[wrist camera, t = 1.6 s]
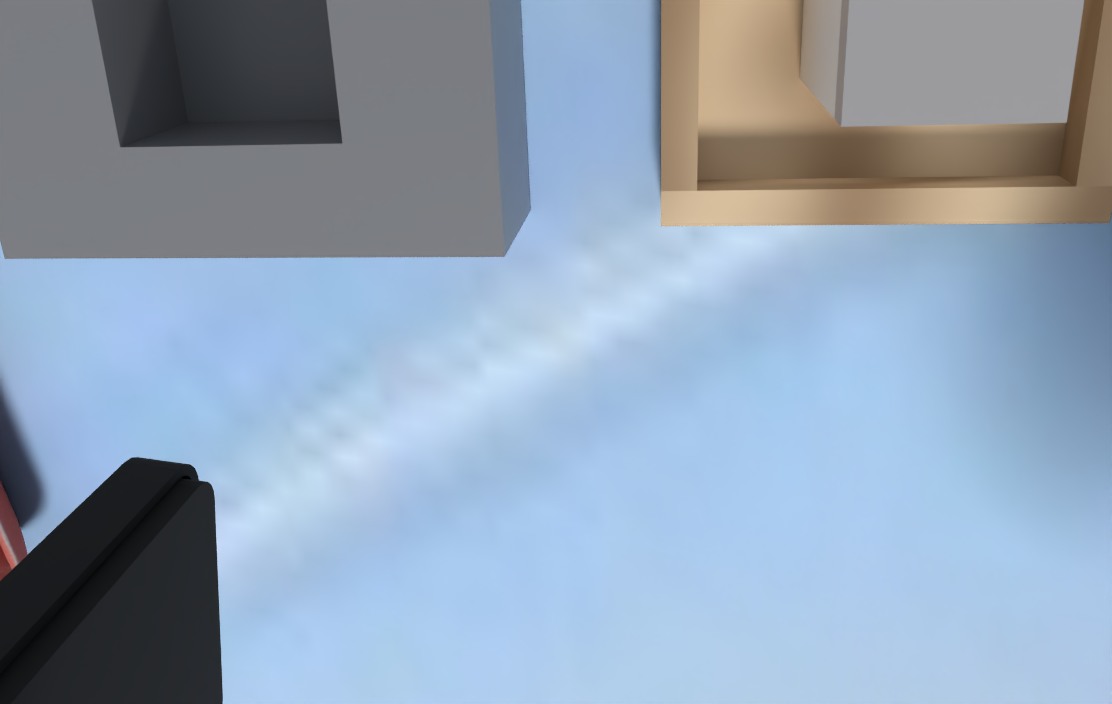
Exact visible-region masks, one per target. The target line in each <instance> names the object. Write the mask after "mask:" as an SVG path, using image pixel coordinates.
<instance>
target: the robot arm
mask: <svg viewBox="0 0 1112 704" xmlns="http://www.w3.org/2000/svg"><path fill="white" fill-rule="evenodd" d="M222 701H223V693H222V669H221V644H220V620H219V596H218V571H217V547H216V523H215V498H214V490H213V488H212V485H211V484H210V483H208V482H204V481H199V479H198V475H197V472H196V470H195V468H194V467H193V466H191V465H189V464H182V463H175V462H168V461H160V460H153V459H146V458H139V457H136V458H130V459H129V460H127V461H126V462H124V463H123V464H122V465H121V466H120V467H119V468H118V469H117V470H116V471H115V472H114V473H113V474H112V475H111V476H110V477H109V478H108V479H107V480H106V481H105V482H103V483H102V484H101V485H100V486H99V487H98V488H97V489H96V490H95V491H94V492H93V493H92V494H91V495H90V496H89V497H88V498H87V499H86V500H85V501H84V502H83V503H81V504H80V505H79V506H78V507H77V508H76V509H75V510H74V511H73V512H72V513H71V514H70V515H69V516H68V517H67V518H66V519H65V520H64V521H63V522H62V523H60V524H59V525H58V526H57V527H56V528H55V529H54V530H53V531H52V532H51V533H50V534H49V535H48V536H47V537H46V538H45V539H44V540H43V541H42V542H41V543H40V544H38V545H37V546H36V547H35V548H34V549H33V550H32V551H31V552H30V553H29V554H28V555H27V556H26V557H25V558H24V559H23V560H22V561H21V562H20V563H19V564H17V565H16V566H15V567H14V568H13V569H12V570H11V571H10V572H9V573H8V574H7V575H6V576H5V577H4V578H3V579H2V580H1V581H0V704H222Z"/></svg>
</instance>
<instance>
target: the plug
mask: <svg viewBox="0 0 1112 704" xmlns="http://www.w3.org/2000/svg"><path fill="white" fill-rule="evenodd" d="M1083 6H1084V0H804V3H803V23H802V44H801V64H800V79H801V81H802V82H803V83H804V84H805V85H806V86H807V88H808V89H809V90H810V91H811V92H812V93H813V95H814V96H815V97H816V98H817V99H818V100H819V102H820V103H821V104H822V105H823V106H824V107H825V109H826V110H827V111H828V112H829V113H830V114H831V116H832V117H833V118H834V119H835V120H836V121H837V123H838V124H839V125H840V126H841V127H855V126H910V125H965V124H1019V123H1067V117H1068V110H1069V103H1070V96H1071V89H1072V82H1073V75H1074V68H1075V61H1076V54H1077V47H1078V41H1079V34H1080V27H1081V20H1082V13H1083Z"/></svg>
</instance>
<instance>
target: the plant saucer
mask: <svg viewBox="0 0 1112 704" xmlns="http://www.w3.org/2000/svg"><path fill="white" fill-rule="evenodd" d="M27 555H28V554H27V550H26V546H25V542H24V538H23V535H22V532H21V529H20V526H19V522H18V520H17V517H16V515H15V512H14V510H13V508H12V506H11V503H10V501H9V499H8V496H7V494H6V492H5V490H4V487H3V485H2V483H1V481H0V581H1V580H2V579H3V578H4V577H5V576H6V575H7V574H8V573H9V572H10V571H11V570H12V569H13V568H14V567H15V566H16V565H17V564H19V563H20V562H21V561H22V560H23V559H24V558H25V557H26V556H27Z"/></svg>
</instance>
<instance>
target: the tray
mask: <svg viewBox="0 0 1112 704" xmlns="http://www.w3.org/2000/svg"><path fill="white" fill-rule="evenodd" d="M803 3H804V0H661V226H749V225H890V224H1031V223H1110V219H1111V213H1112V0H1084V6H1083V13H1082V20H1081V27H1080V34H1079V41H1078V47H1077V54H1076V61H1075V68H1074V75H1073V82H1072V89H1071V96H1070V103H1069V110H1068V117H1067V123H1019V124H965V125H910V126H855V127H841V126H840V125H839V124H838V123H837V121H836V120H835V119H834V118H833V117H832V116H831V114H830V113H829V112H828V111H827V110H826V109H825V107H824V106H823V105H822V104H821V103H820V102H819V100H818V99H817V98H816V97H815V96H814V95H813V93H812V92H811V91H810V90H809V89H808V88H807V86H806V85H805V84H804V83H803V82H802V81H801V79H800V64H801V44H802V23H803Z"/></svg>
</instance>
